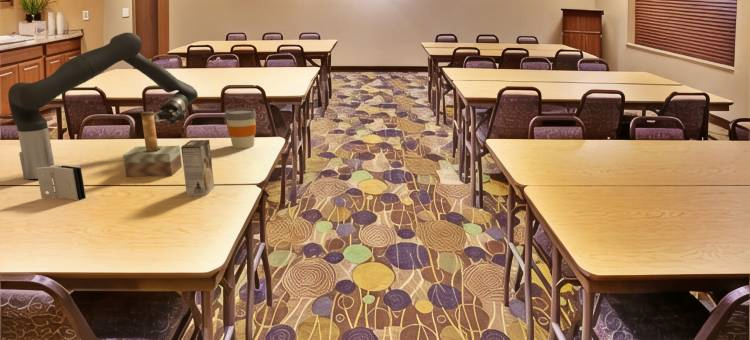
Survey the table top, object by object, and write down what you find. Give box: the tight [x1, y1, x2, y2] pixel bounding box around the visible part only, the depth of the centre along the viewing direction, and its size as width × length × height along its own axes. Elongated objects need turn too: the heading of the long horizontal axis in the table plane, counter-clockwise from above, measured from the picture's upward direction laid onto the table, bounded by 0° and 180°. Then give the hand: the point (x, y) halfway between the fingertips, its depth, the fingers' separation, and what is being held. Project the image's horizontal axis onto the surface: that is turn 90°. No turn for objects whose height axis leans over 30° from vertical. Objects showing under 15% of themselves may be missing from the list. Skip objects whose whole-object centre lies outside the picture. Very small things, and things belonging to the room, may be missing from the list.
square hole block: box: [122, 145, 183, 178], centre depth 209 cm, size 16×12×8 cm
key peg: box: [140, 111, 159, 152], centre depth 206 cm, size 4×4×17 cm
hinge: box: [36, 164, 87, 201], centre depth 182 cm, size 14×5×10 cm, turn 81°
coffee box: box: [180, 139, 215, 197], centre depth 184 cm, size 9×6×16 cm
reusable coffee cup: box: [225, 108, 257, 149], centre depth 244 cm, size 13×13×15 cm
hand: (159, 122), depth 216 cm, fingers open, 8 cm apart
